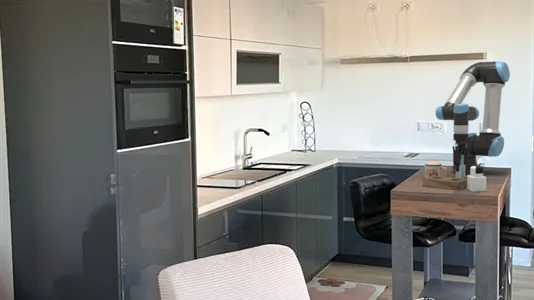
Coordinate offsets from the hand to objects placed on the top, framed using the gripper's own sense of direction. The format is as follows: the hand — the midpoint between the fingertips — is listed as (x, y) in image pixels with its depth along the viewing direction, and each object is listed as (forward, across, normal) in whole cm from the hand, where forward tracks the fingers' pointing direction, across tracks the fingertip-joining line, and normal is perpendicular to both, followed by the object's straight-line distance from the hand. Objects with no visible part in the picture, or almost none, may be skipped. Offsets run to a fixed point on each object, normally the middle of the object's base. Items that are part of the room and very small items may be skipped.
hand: (460, 177), depth 330 cm
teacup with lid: (+3, -1, -15) cm, 15 cm away
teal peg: (+3, 0, 0) cm, 3 cm away
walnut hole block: (+3, +15, 0) cm, 15 cm away
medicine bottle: (+3, +16, +17) cm, 24 cm away
